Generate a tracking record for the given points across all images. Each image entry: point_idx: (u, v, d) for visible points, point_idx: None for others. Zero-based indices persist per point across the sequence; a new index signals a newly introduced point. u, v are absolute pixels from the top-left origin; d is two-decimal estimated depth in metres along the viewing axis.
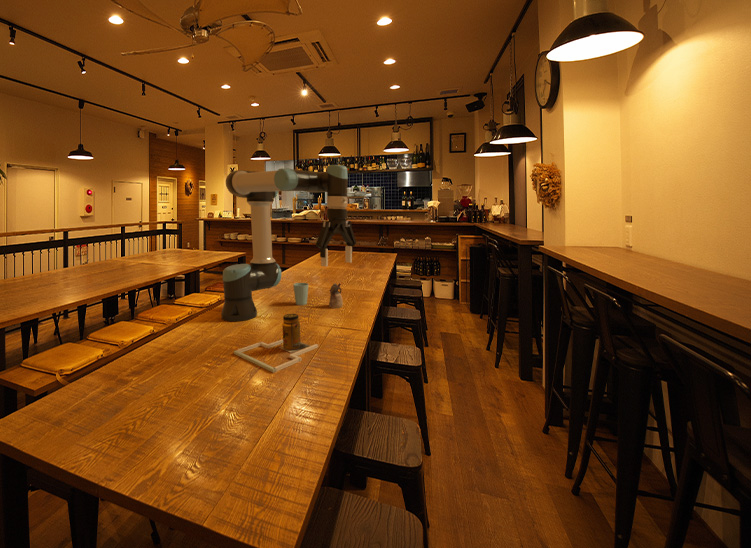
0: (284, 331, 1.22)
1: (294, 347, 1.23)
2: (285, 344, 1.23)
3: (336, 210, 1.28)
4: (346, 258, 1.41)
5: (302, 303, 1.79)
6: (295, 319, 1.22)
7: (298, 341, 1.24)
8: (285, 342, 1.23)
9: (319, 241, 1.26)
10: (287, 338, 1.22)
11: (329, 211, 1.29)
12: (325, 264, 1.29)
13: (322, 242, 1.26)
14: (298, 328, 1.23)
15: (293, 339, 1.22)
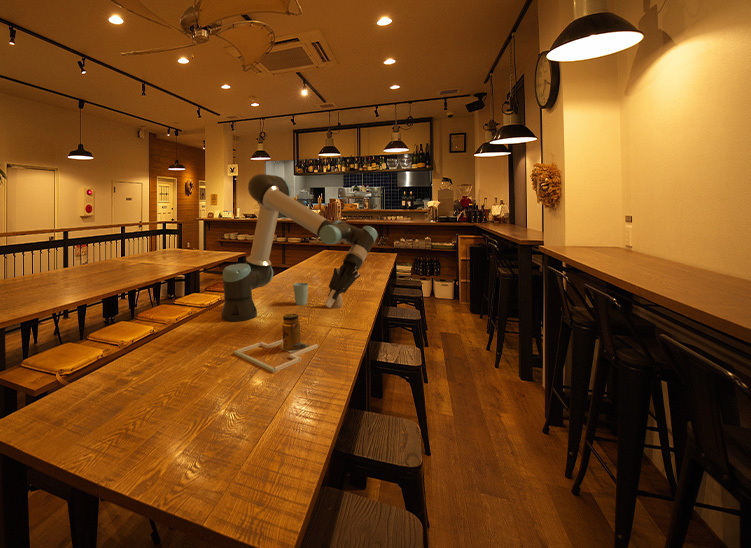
0: (284, 331, 1.22)
1: (294, 347, 1.23)
2: (285, 344, 1.23)
3: (361, 263, 1.46)
4: (327, 300, 1.36)
5: (302, 303, 1.79)
6: (295, 319, 1.22)
7: (298, 341, 1.24)
8: (285, 342, 1.23)
9: (345, 288, 1.38)
10: (287, 338, 1.22)
11: (360, 260, 1.43)
12: (330, 305, 1.37)
13: None
14: (298, 328, 1.23)
15: (293, 339, 1.22)
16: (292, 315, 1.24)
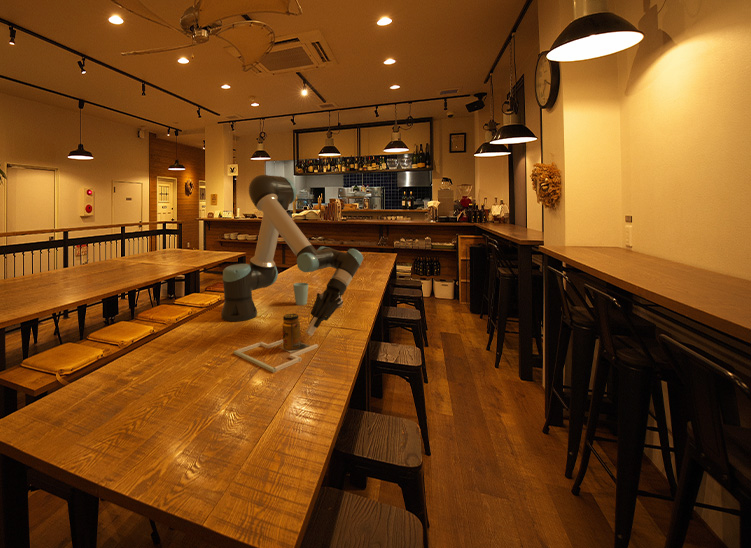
0: (284, 331, 1.22)
1: (294, 347, 1.23)
2: (285, 344, 1.23)
3: (346, 288, 1.40)
4: (309, 329, 1.31)
5: (302, 303, 1.79)
6: (295, 319, 1.22)
7: (298, 341, 1.24)
8: (285, 342, 1.23)
9: (328, 315, 1.32)
10: (287, 338, 1.22)
11: (343, 286, 1.38)
12: (312, 333, 1.31)
13: None
14: (298, 328, 1.23)
15: (293, 339, 1.22)
16: (292, 315, 1.24)
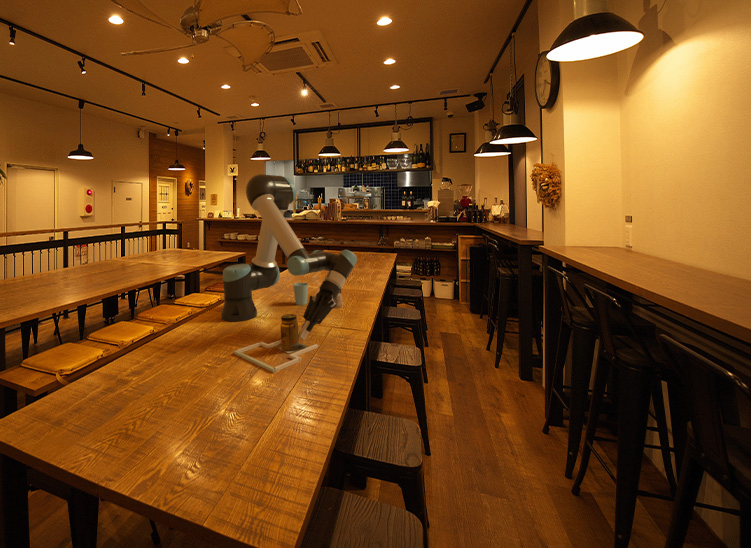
0: (282, 332, 1.21)
1: (292, 348, 1.22)
2: (283, 345, 1.22)
3: (339, 291, 1.36)
4: None
5: (302, 303, 1.79)
6: (293, 320, 1.21)
7: (296, 342, 1.23)
8: (283, 343, 1.22)
9: (321, 319, 1.29)
10: (285, 339, 1.21)
11: (337, 288, 1.34)
12: (304, 337, 1.28)
13: None
14: (296, 329, 1.23)
15: (291, 340, 1.22)
16: (290, 315, 1.23)
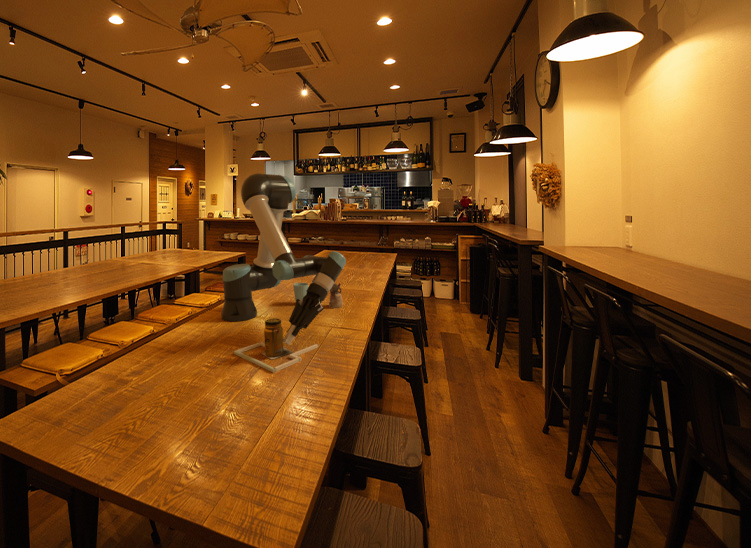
0: (265, 337, 1.17)
1: (276, 354, 1.17)
2: (266, 350, 1.17)
3: None
4: None
5: None
6: (277, 324, 1.16)
7: (280, 347, 1.18)
8: (266, 348, 1.17)
9: (307, 323, 1.24)
10: (268, 344, 1.16)
11: (324, 291, 1.29)
12: (289, 342, 1.23)
13: None
14: (280, 334, 1.17)
15: (275, 345, 1.16)
16: (274, 320, 1.18)
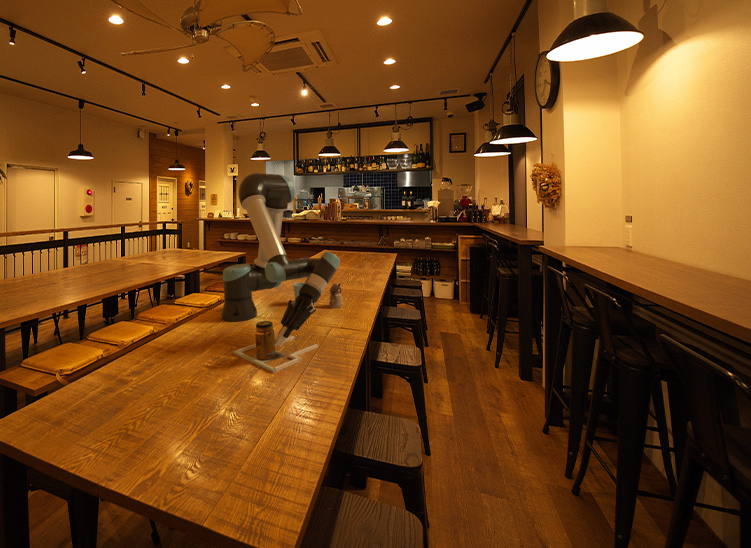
0: (257, 340, 1.14)
1: (268, 357, 1.15)
2: (258, 353, 1.15)
3: (320, 295, 1.29)
4: None
5: None
6: (268, 327, 1.14)
7: (272, 350, 1.16)
8: (258, 351, 1.15)
9: (299, 325, 1.21)
10: (260, 347, 1.14)
11: (317, 292, 1.27)
12: (281, 344, 1.20)
13: None
14: (272, 336, 1.15)
15: (266, 348, 1.14)
16: (266, 322, 1.16)
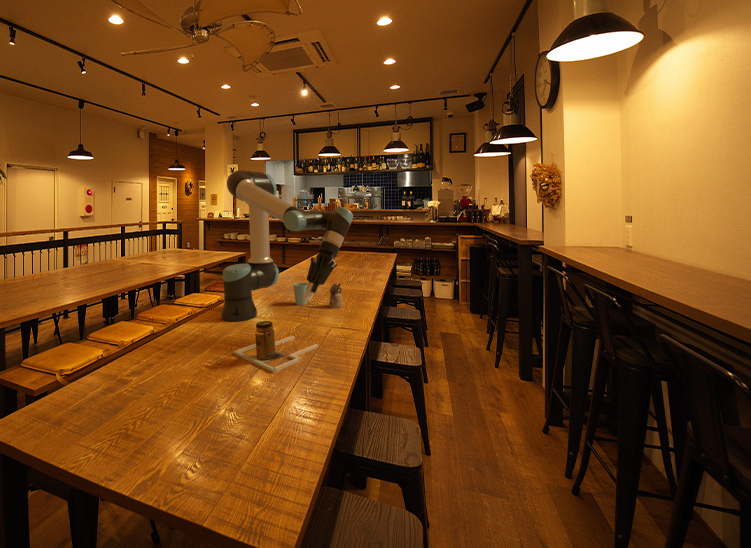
0: (257, 340, 1.14)
1: (268, 357, 1.15)
2: (258, 353, 1.15)
3: None
4: (306, 295, 1.32)
5: (302, 303, 1.79)
6: (268, 327, 1.14)
7: (272, 350, 1.16)
8: (258, 351, 1.15)
9: (323, 280, 1.32)
10: (260, 347, 1.14)
11: (336, 247, 1.35)
12: (310, 299, 1.33)
13: None
14: (272, 336, 1.15)
15: (266, 348, 1.14)
16: (266, 322, 1.16)
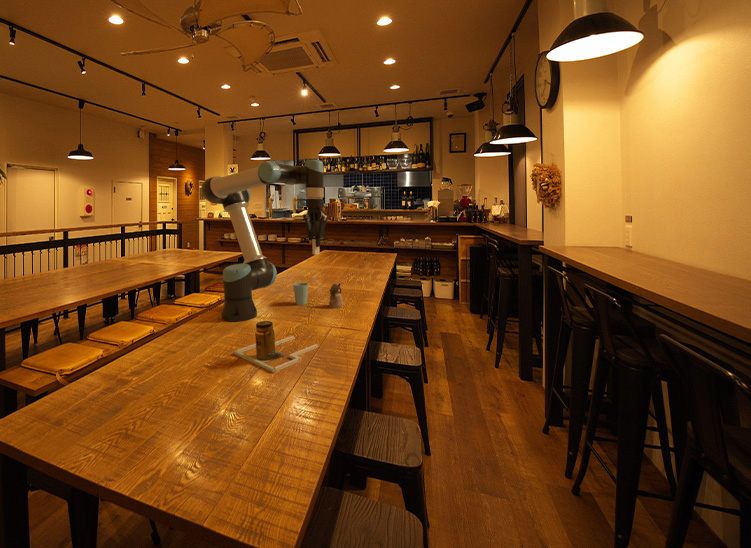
0: (257, 340, 1.14)
1: (268, 357, 1.15)
2: (258, 353, 1.15)
3: (323, 200, 1.48)
4: (314, 250, 1.51)
5: (302, 303, 1.79)
6: (268, 327, 1.14)
7: (272, 350, 1.16)
8: (258, 351, 1.15)
9: (322, 233, 1.48)
10: (260, 347, 1.14)
11: (320, 201, 1.45)
12: (318, 252, 1.52)
13: None
14: (272, 336, 1.15)
15: (266, 348, 1.14)
16: (266, 322, 1.16)
